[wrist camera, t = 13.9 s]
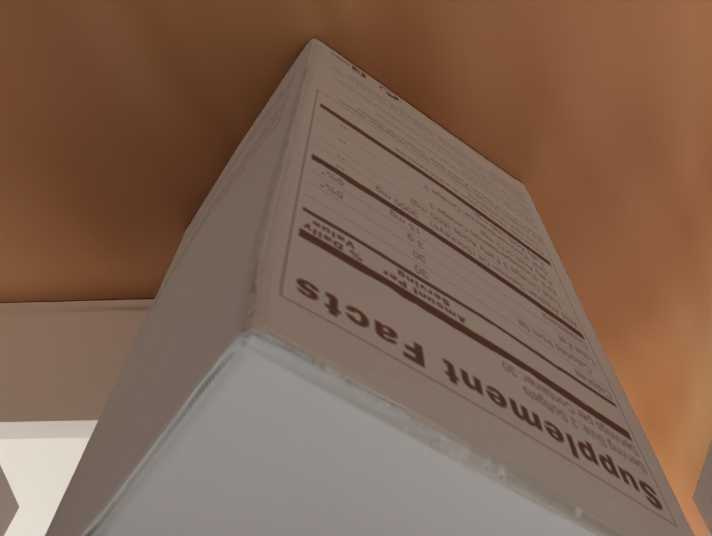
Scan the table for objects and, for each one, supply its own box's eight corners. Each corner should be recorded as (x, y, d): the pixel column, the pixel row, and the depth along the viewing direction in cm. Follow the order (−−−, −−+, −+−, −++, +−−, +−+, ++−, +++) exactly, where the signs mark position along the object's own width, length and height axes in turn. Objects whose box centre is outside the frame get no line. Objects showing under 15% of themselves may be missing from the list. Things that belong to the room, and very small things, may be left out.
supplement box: (377, 347, 22) (387, 813, 11) (178, 231, 20) (-42, 676, 9) (533, 182, 19) (751, 618, 8) (316, 22, 17) (226, 333, 6)
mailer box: (-126, 306, 21) (-256, 427, 17) (276, 295, 21) (252, 417, 17) (26, 597, 30) (-35, 729, 25) (314, 594, 30) (305, 727, 25)
